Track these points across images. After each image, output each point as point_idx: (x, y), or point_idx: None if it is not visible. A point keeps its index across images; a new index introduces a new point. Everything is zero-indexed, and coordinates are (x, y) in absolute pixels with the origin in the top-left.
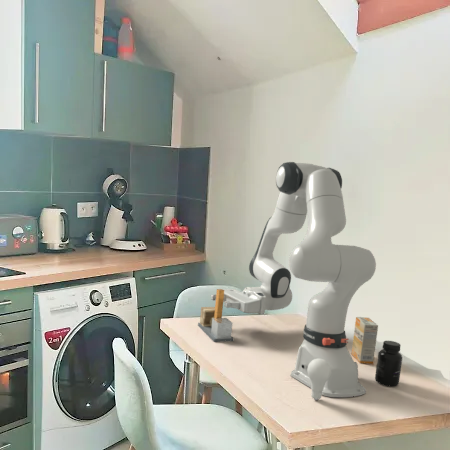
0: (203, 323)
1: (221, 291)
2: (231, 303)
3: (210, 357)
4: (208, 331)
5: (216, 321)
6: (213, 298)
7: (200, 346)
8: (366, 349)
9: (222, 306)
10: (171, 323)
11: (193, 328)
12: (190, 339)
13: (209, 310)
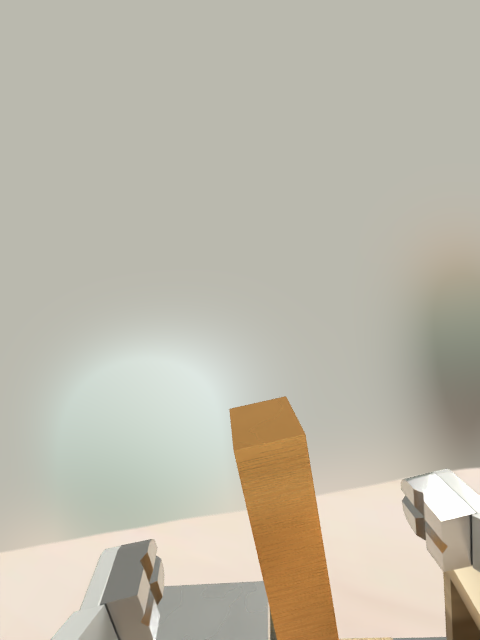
0: (447, 634)
1: (233, 436)
2: (76, 621)
3: (41, 562)
4: None
5: (183, 587)
6: (408, 504)
7: None
8: None
9: (272, 616)
10: (474, 488)
11: (436, 589)
12: (246, 529)
13: (471, 604)
